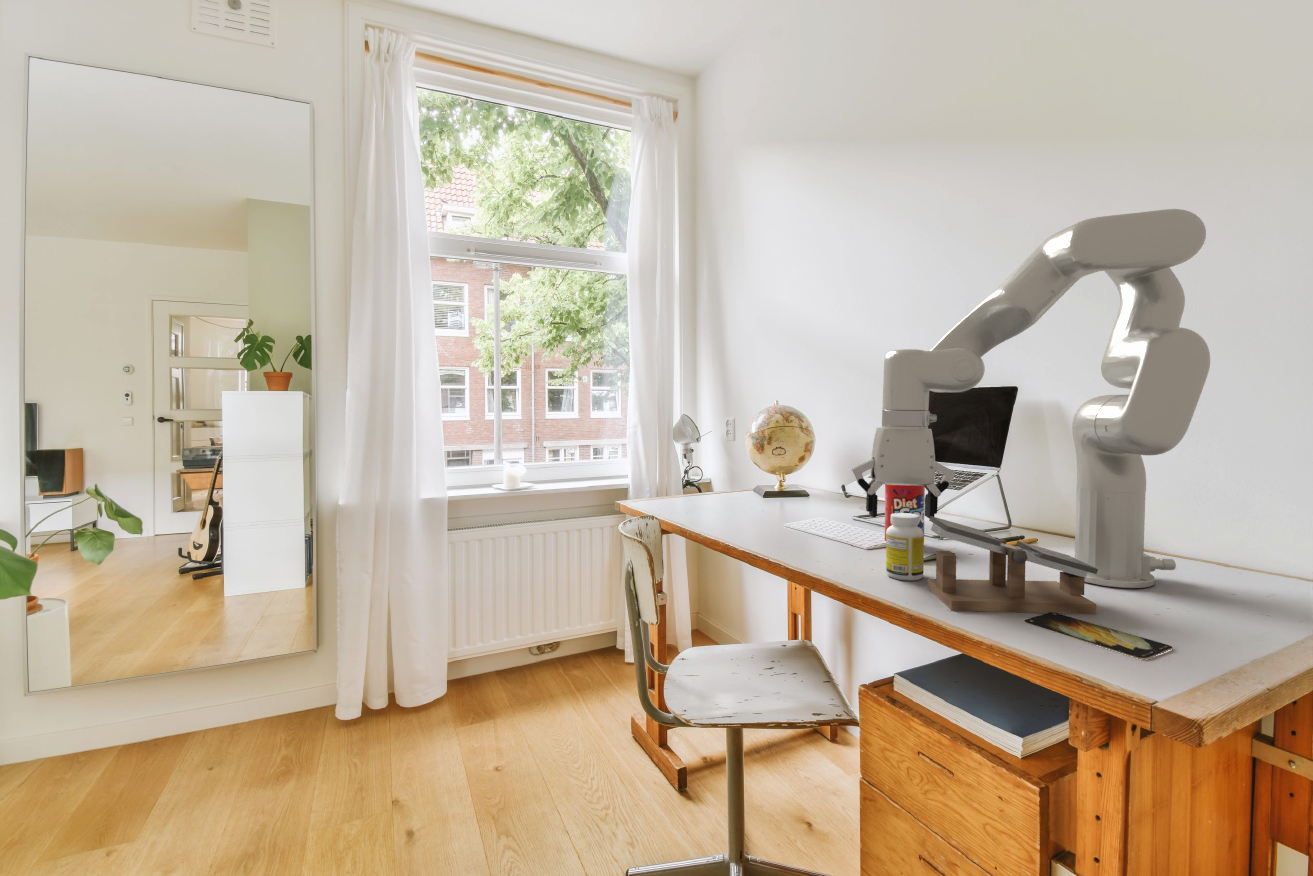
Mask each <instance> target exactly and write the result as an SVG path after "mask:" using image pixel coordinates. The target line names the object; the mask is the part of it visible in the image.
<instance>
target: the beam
mask: <svg viewBox="0 0 1313 876" xmlns="http://www.w3.org/2000/svg"><path fill="white" fill-rule="evenodd" d="M928 519H929V518H928ZM928 521H929V522H931V523H932V526H931V528H930V531H932V532H933V533H935V534H936V535H938V536H939V537H943V538H945V539H949V540H953V541H956V542H961V543H964V544H966V545H970V546H974V547H978V548H981V549H985V550H988V551H990V550H991V551H994V552H998V553H1001V554H1005V555H1006V556H1008V549H1022V550H1024V551H1026V554H1027V560H1026V562H1030V563H1031V564H1036V565H1039V566H1043V567H1047V568H1050V569H1054V570H1057V571H1059V572H1067V573H1070V574H1074V575H1077V576H1081V577H1084V578H1086V576H1087V573H1088V572H1090V573H1093V574H1097V571H1098V569H1097V568H1094V567H1092V566H1090V565H1088V564H1086V563H1084V562H1082V561H1080V560H1077V559H1075V557H1074V556H1071V555H1068V554H1066V553H1062V552H1059V551H1055V550H1052V549H1047V548H1044V547H1041V546H1038V545H1035V544H1034V545H1033V544H1030V543H1027V542H1023V541H1020V540H1017V541H1016V545H1012V544H1008V543H1006V544H1005V543H1001V542H1002V541H1000V540H1001V539H1000V540H998V539H996V538H994V537H995V536H992V535H991V534H989V533H987V532H986V531H985V532H984V531H982V530H981V529H978V528H974V527H972V526H967V525H964V524H960V523H957V522H953V521H950V520H946V519H943V518H939V517H937V516H934V517H933V516H930V519H929V520H928Z"/></svg>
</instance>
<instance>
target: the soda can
mask: <svg viewBox="0 0 1313 876" xmlns="http://www.w3.org/2000/svg"><path fill="white" fill-rule="evenodd" d="M925 489H926V488H925V487H924V486H916V485H886V484H884V541H886V531H887V529H888V528H889V527H890V526H892V523H891V514H894V513H911V514H916V515H918V516H919V524H918V525H917V526H918V527H919V528H920V529H921V530H922V531H923V535H924V536H925V495H926V494H925V493H926V491H925Z"/></svg>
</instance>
